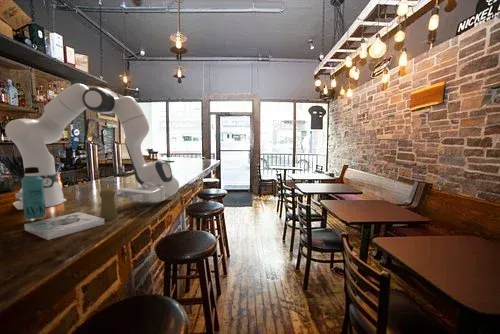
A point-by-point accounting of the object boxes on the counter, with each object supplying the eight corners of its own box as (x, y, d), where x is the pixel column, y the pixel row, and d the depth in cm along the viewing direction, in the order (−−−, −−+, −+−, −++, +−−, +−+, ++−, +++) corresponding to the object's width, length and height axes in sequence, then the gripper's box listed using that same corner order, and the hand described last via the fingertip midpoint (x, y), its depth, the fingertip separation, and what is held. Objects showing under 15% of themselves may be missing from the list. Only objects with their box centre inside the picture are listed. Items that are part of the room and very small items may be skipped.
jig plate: (24, 230, 87) (24, 224, 87) (79, 217, 101) (79, 212, 101) (48, 240, 78) (47, 233, 78) (104, 224, 93) (104, 218, 92)
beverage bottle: (20, 222, 96) (14, 167, 94) (40, 217, 102) (35, 166, 100) (31, 224, 93) (25, 168, 91) (51, 219, 99) (46, 166, 97)
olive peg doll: (112, 219, 98) (110, 190, 96) (96, 219, 98) (94, 190, 97) (120, 215, 104) (119, 187, 103) (105, 215, 104) (103, 187, 103)
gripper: (133, 183, 123) (106, 187, 110) (166, 186, 114) (140, 192, 101) (134, 196, 123) (106, 202, 111) (167, 200, 114) (141, 208, 102)
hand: (123, 197), depth 106 cm, fingers open, 8 cm apart
